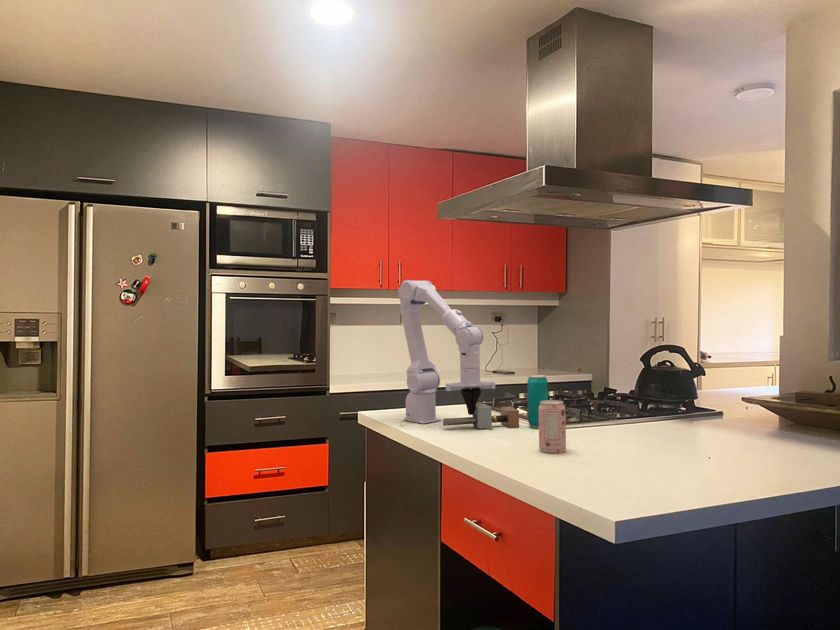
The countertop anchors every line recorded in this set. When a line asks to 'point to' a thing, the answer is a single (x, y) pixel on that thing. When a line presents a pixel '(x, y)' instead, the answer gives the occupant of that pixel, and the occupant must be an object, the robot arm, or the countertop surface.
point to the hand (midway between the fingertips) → (471, 414)
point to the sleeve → (483, 416)
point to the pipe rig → (506, 418)
